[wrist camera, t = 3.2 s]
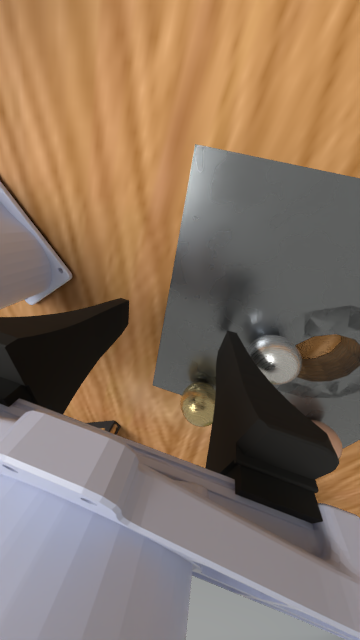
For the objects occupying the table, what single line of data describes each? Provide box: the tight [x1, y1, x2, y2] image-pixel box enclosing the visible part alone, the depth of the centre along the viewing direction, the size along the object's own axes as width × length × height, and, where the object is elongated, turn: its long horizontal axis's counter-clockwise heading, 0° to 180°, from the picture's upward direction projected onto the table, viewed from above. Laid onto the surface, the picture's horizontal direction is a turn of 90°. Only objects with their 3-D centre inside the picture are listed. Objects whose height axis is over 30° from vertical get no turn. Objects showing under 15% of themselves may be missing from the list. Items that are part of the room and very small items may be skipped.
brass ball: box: [181, 382, 216, 427], centre depth 15 cm, size 4×4×4 cm
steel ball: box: [247, 335, 302, 385], centre depth 11 cm, size 3×3×3 cm
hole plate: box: [153, 144, 360, 449], centre depth 13 cm, size 20×19×2 cm
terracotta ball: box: [311, 420, 342, 458], centre depth 14 cm, size 3×3×3 cm
